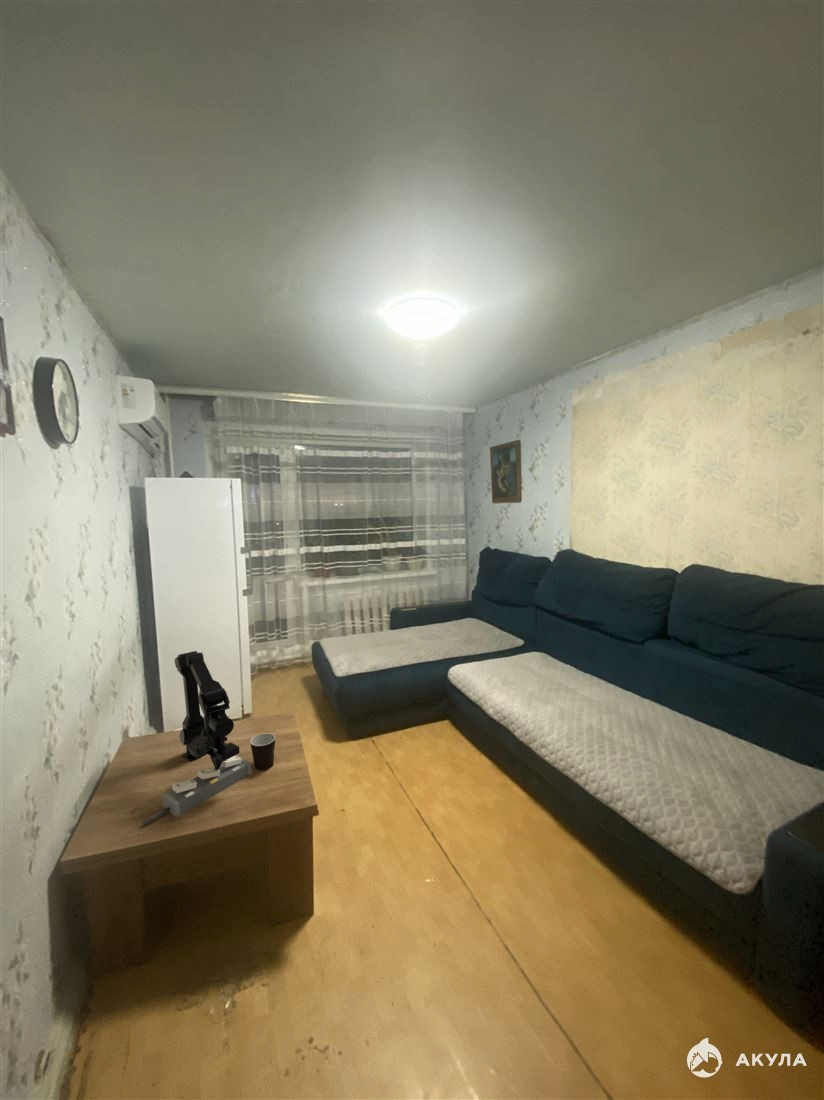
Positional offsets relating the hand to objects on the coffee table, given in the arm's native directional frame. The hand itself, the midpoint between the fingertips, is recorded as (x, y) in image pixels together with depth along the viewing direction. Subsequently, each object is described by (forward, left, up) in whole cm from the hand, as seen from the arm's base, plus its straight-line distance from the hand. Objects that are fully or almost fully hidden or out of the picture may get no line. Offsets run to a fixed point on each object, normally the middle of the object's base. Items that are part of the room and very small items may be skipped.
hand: (217, 768), depth 148 cm
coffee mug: (+3, +17, -6) cm, 18 cm away
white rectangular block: (0, -11, 0) cm, 11 cm away
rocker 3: (0, +5, 0) cm, 5 cm away
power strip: (0, -7, -6) cm, 9 cm away
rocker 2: (0, -3, 0) cm, 3 cm away
